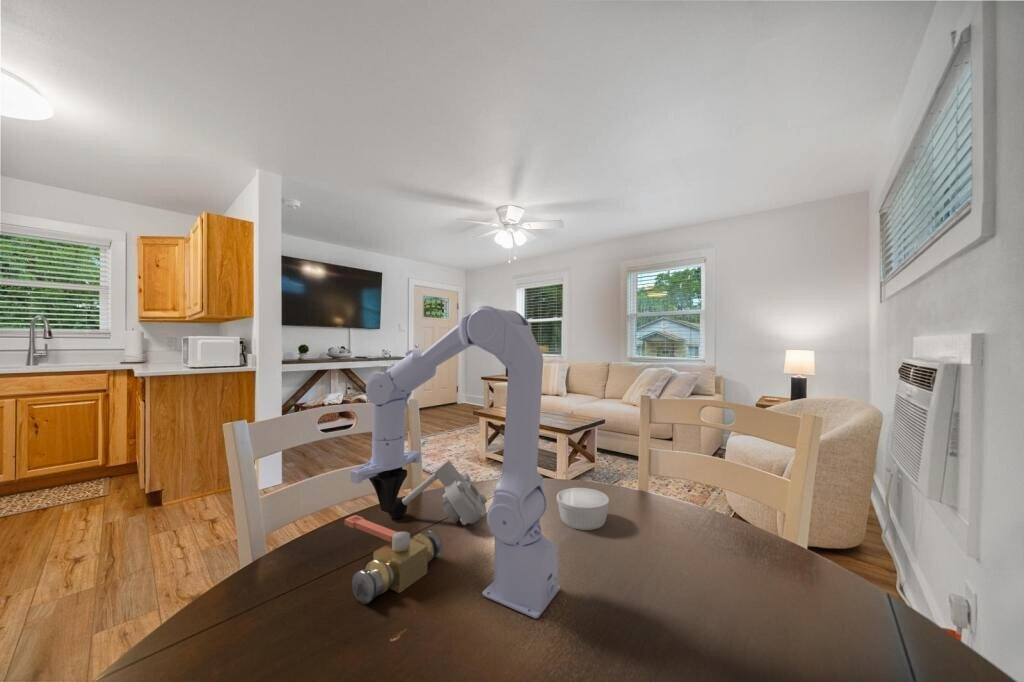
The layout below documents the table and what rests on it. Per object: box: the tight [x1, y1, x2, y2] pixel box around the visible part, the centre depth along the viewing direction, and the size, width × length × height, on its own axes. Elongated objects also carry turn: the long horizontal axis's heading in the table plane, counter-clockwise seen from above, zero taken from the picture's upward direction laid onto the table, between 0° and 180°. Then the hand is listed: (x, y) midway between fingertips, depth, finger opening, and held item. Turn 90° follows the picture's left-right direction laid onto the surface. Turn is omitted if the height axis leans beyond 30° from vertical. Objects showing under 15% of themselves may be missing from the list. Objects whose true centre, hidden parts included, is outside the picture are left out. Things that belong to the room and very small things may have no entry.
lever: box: [344, 514, 411, 551], centre depth 65 cm, size 15×3×2 cm, turn 59°
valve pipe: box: [351, 529, 443, 605], centre depth 62 cm, size 15×6×5 cm, turn 149°
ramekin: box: [556, 487, 610, 531], centre depth 83 cm, size 11×11×5 cm
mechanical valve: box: [387, 459, 488, 526], centre depth 83 cm, size 10×18×15 cm
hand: (387, 510), depth 70 cm, fingers closed
